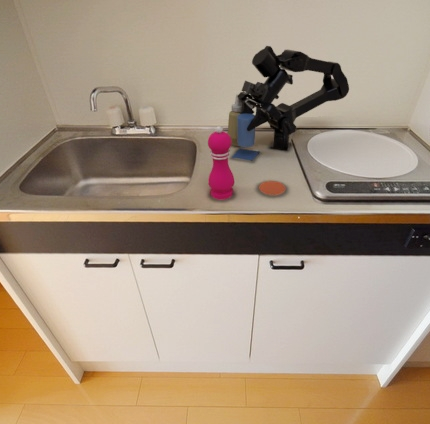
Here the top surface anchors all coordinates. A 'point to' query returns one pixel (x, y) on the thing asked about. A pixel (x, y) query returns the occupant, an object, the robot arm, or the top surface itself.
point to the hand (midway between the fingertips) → (242, 127)
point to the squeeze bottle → (234, 120)
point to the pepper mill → (220, 165)
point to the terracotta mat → (272, 188)
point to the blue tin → (245, 130)
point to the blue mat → (245, 154)
